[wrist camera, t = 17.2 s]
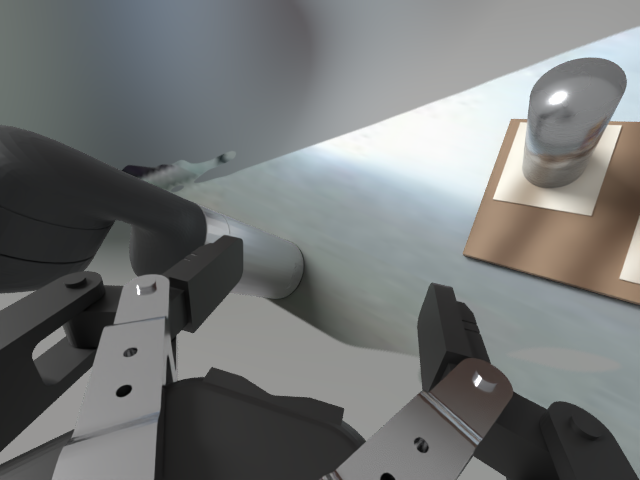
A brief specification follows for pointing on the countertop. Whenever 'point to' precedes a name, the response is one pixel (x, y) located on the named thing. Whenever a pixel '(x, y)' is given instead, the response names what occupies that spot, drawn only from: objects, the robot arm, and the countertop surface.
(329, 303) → the countertop surface
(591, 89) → the grey metal peg
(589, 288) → the walnut board
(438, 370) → the robot arm
